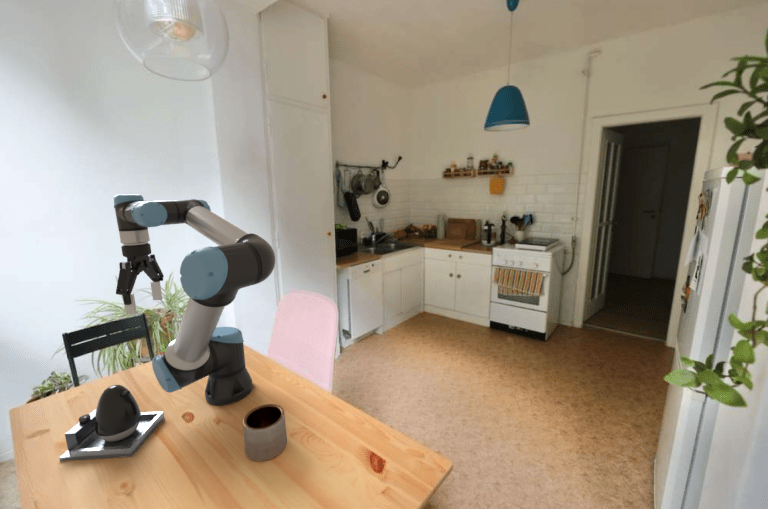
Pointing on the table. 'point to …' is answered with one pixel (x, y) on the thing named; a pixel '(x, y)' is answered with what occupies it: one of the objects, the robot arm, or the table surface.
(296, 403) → the table surface
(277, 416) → the planter
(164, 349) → the fruit
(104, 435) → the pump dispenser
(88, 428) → the tray unit
